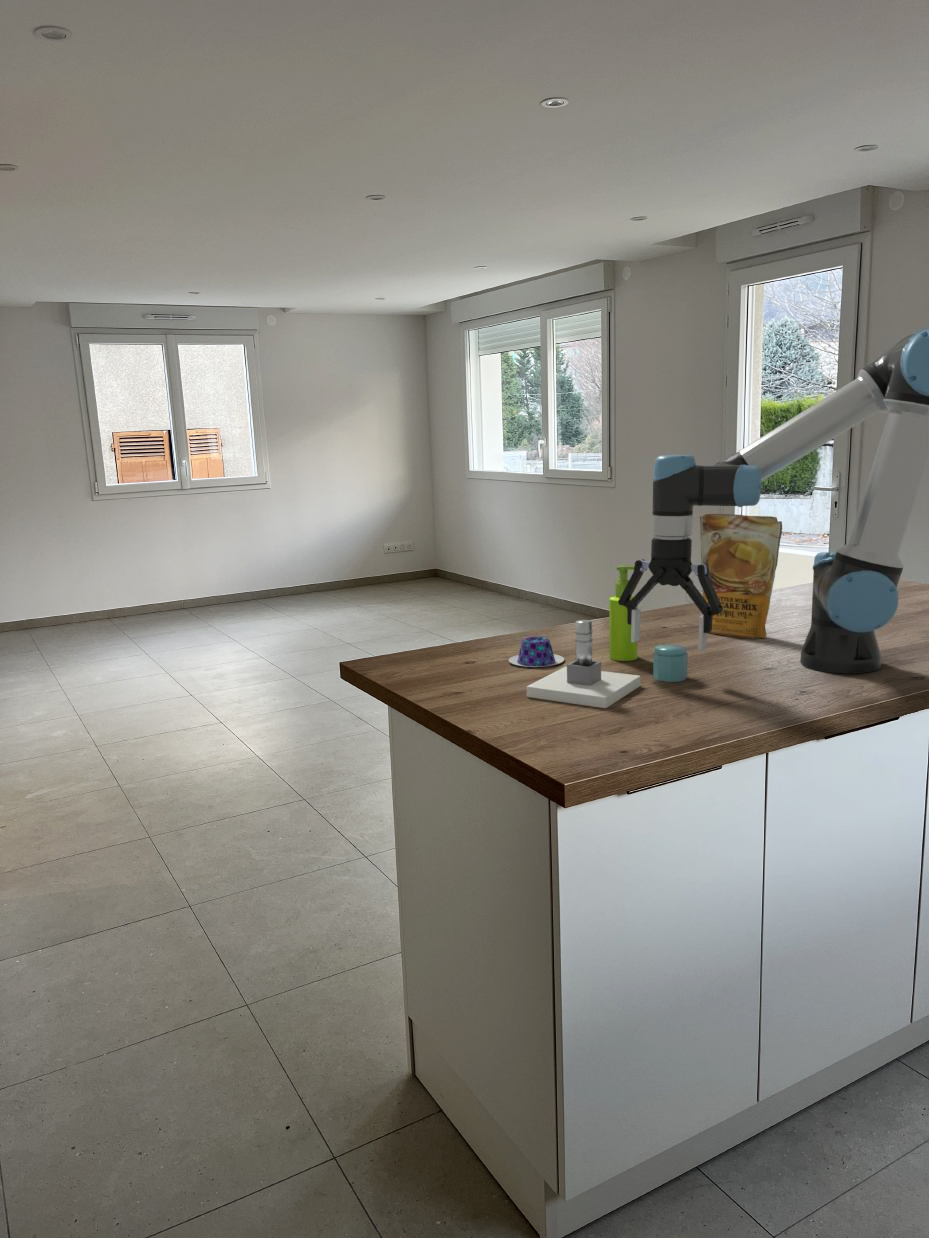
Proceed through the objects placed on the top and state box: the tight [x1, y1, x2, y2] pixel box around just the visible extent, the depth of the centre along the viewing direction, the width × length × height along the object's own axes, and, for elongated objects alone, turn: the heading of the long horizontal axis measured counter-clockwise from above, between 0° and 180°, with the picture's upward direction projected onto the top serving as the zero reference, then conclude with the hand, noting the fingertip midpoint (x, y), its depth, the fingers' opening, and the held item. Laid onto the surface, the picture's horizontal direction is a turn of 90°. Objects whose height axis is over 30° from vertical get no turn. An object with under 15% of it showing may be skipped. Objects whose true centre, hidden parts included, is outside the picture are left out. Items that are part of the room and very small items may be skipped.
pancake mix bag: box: [699, 513, 783, 640], centre depth 210 cm, size 7×19×28 cm, turn 48°
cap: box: [652, 644, 689, 683], centre depth 177 cm, size 6×6×6 cm
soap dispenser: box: [608, 564, 638, 662], centre depth 192 cm, size 6×7×20 cm
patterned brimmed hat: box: [508, 636, 565, 668], centre depth 193 cm, size 12×12×5 cm
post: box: [574, 619, 593, 667], centre depth 169 cm, size 3×3×10 cm
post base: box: [526, 659, 641, 709], centre depth 170 cm, size 16×16×6 cm
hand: (667, 645), depth 177 cm, fingers open, 13 cm apart
